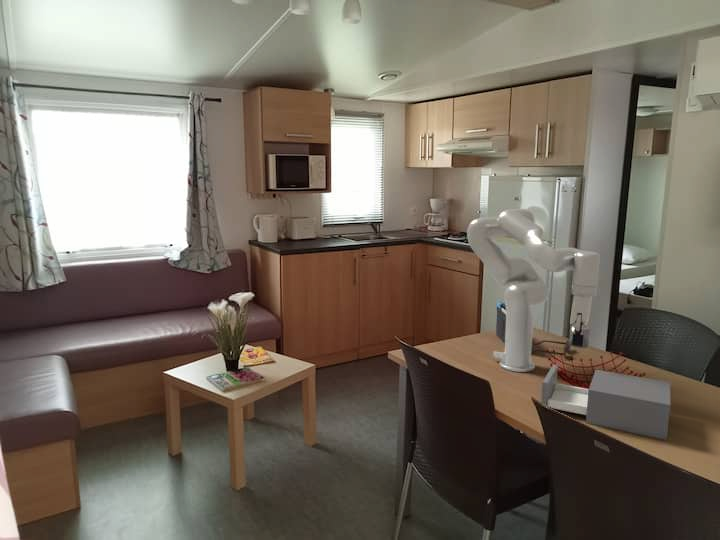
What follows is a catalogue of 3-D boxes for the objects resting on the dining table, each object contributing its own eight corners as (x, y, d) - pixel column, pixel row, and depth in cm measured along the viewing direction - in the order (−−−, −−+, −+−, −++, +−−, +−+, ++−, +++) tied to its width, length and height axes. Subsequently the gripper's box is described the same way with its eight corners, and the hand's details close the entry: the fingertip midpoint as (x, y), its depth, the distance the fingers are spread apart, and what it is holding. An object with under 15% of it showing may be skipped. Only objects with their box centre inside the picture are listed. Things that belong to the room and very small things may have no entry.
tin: (567, 345, 171) (569, 327, 170) (570, 340, 176) (571, 323, 175) (587, 349, 168) (589, 330, 167) (589, 343, 173) (591, 326, 172)
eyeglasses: (564, 361, 200) (565, 348, 199) (525, 354, 208) (525, 342, 207) (570, 350, 213) (571, 338, 212) (533, 344, 220) (533, 333, 219)
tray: (540, 409, 156) (542, 382, 154) (551, 389, 170) (553, 364, 169) (609, 423, 147) (611, 395, 145) (614, 401, 161) (616, 375, 160)
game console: (493, 332, 236) (494, 300, 234) (507, 332, 237) (508, 300, 234) (513, 352, 209) (515, 317, 206) (529, 352, 209) (531, 317, 206)
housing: (585, 422, 149) (588, 389, 148) (593, 399, 165) (595, 369, 163) (666, 440, 140) (670, 405, 138) (666, 413, 155) (669, 382, 153)
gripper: (575, 283, 178) (570, 333, 181) (567, 293, 163) (562, 348, 167) (599, 286, 174) (593, 337, 178) (593, 296, 160) (587, 352, 163)
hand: (578, 342), depth 172 cm, fingers closed on tin, 6 cm apart
